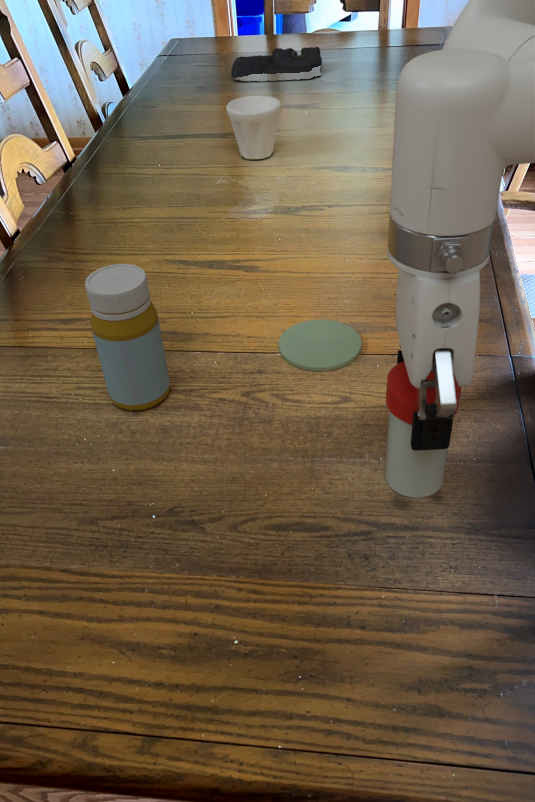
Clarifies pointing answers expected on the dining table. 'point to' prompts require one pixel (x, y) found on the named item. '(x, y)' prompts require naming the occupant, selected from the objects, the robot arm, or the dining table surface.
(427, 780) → the dining table surface
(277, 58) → the black sneaker
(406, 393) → the cap
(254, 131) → the cup
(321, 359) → the coaster
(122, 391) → the bottle
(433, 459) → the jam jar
